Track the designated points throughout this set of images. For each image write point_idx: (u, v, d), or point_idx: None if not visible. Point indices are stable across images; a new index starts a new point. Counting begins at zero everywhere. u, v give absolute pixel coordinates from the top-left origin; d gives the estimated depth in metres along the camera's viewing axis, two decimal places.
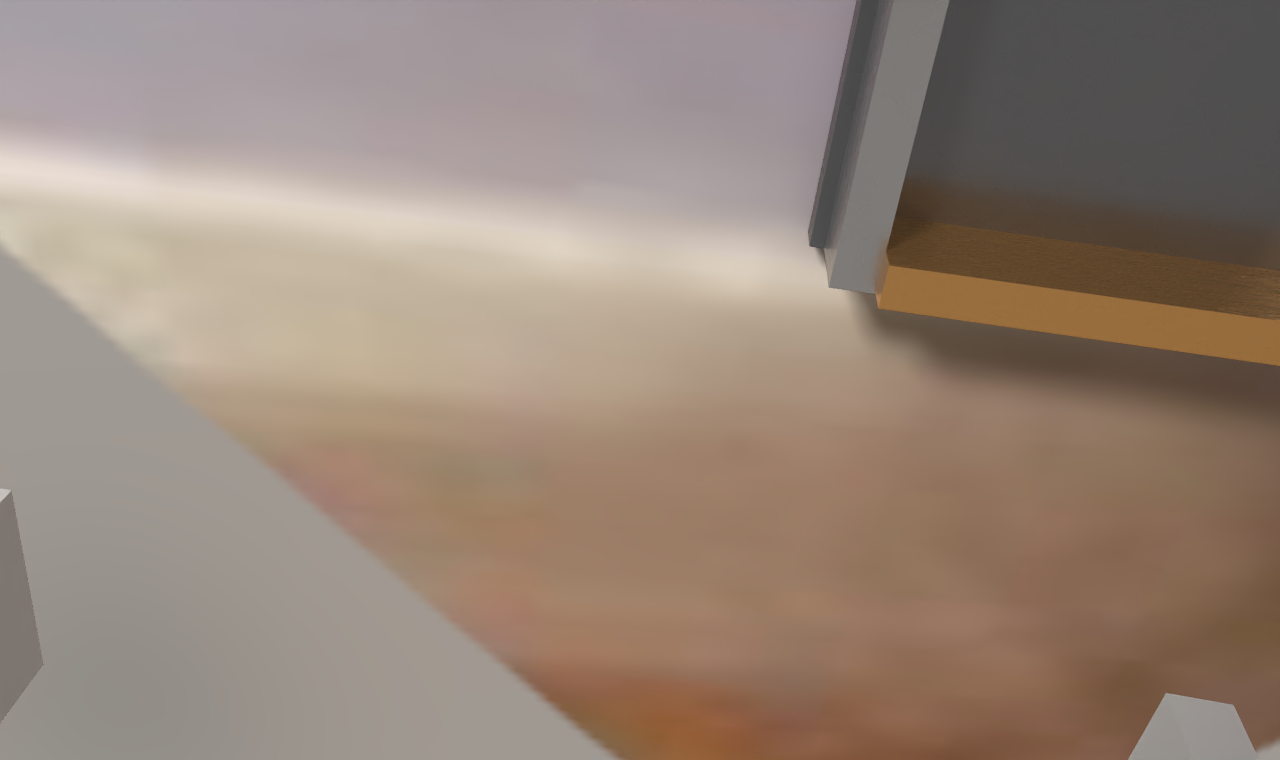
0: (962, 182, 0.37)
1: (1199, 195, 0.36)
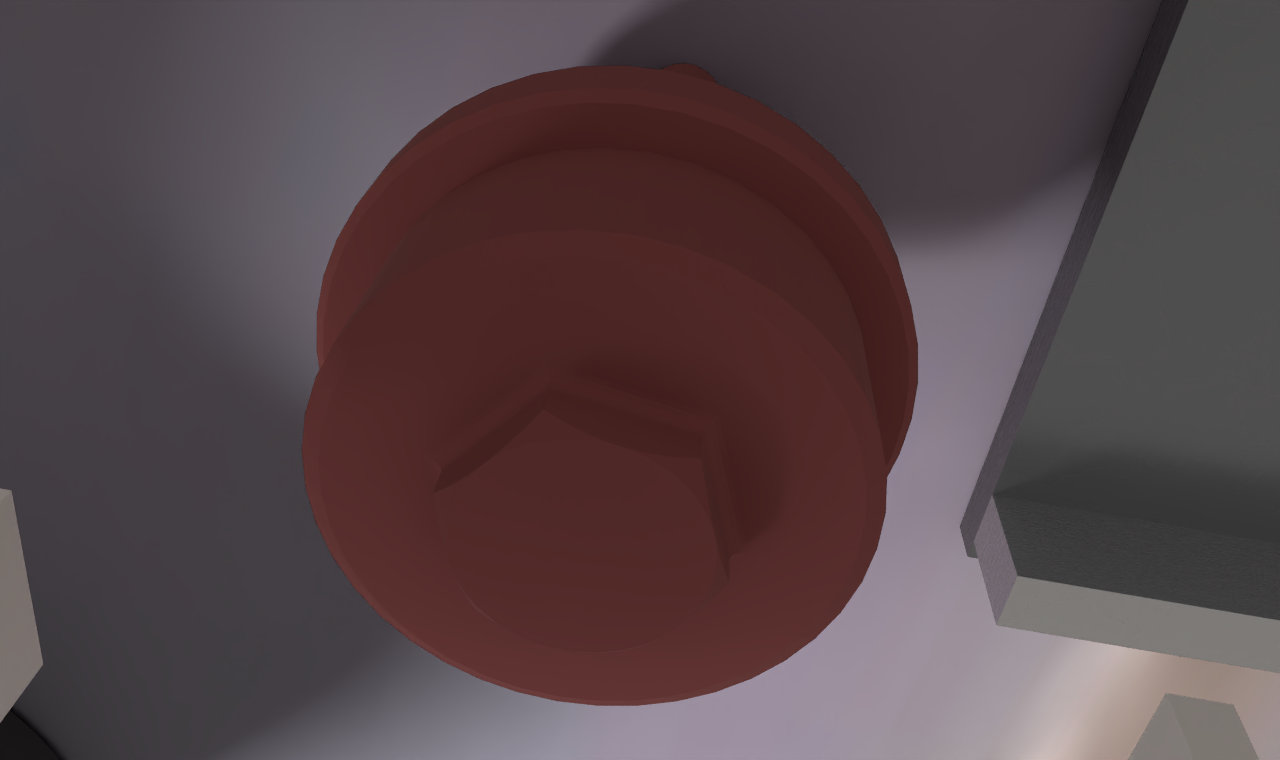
0: None
1: None
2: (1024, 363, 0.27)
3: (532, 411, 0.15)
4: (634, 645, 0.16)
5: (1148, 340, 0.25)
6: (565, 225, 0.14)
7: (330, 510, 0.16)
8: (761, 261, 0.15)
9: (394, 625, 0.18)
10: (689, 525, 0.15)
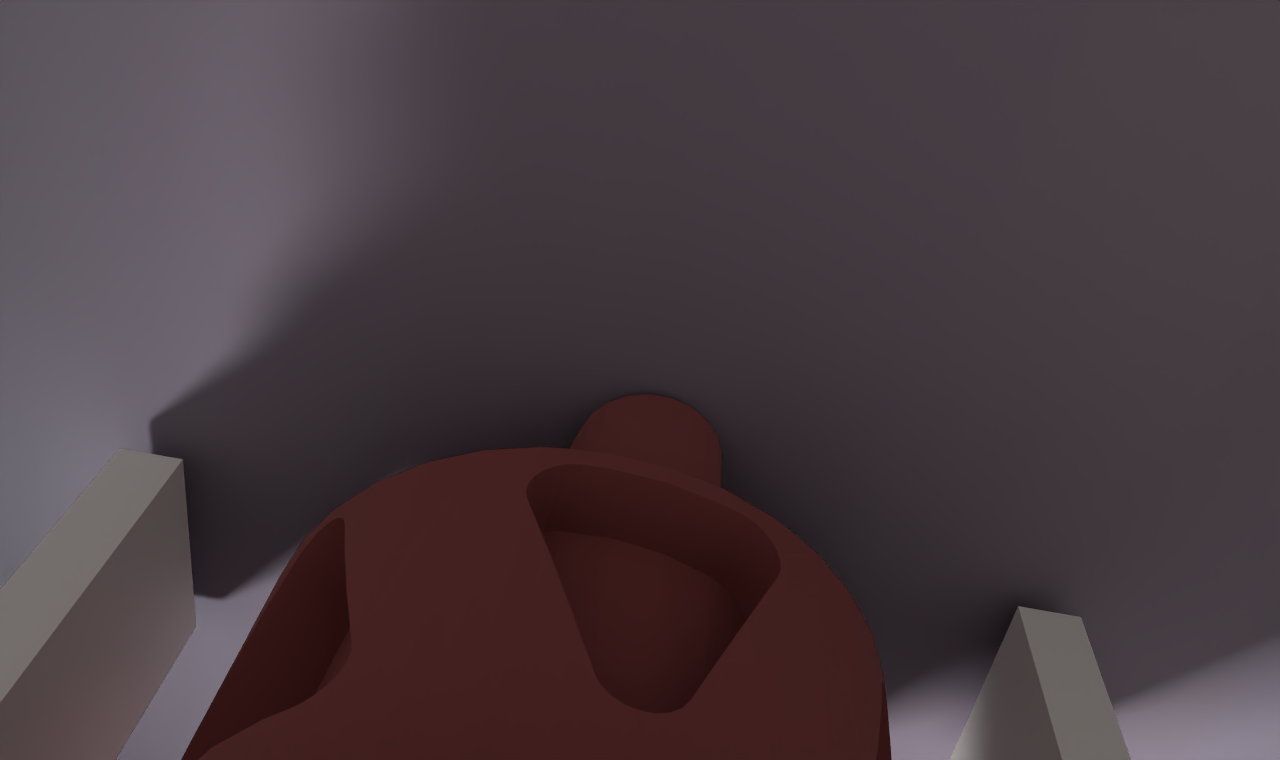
0: None
1: None
2: None
3: None
4: None
5: None
6: None
7: None
8: None
9: None
10: None
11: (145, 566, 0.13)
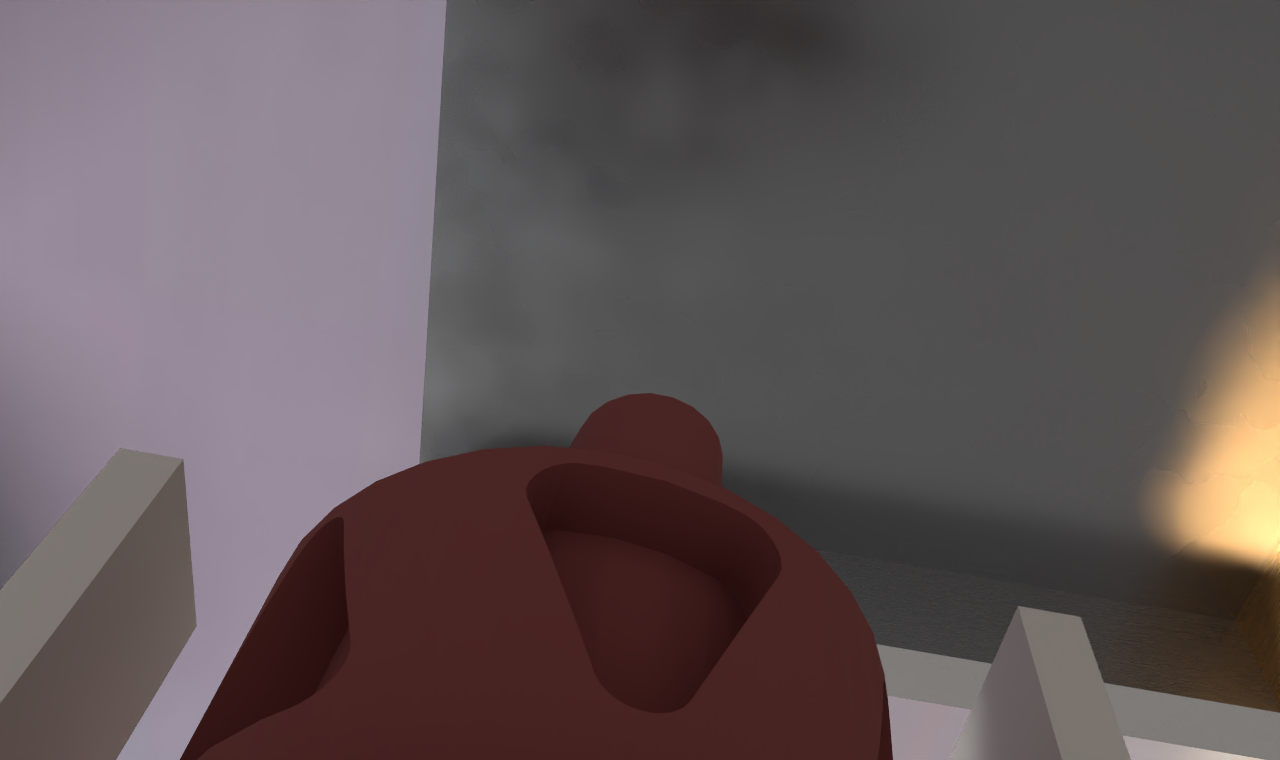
0: (1216, 533, 0.27)
1: None
2: None
3: None
4: None
5: (517, 327, 0.25)
6: None
7: None
8: None
9: None
10: None
11: (145, 566, 0.13)
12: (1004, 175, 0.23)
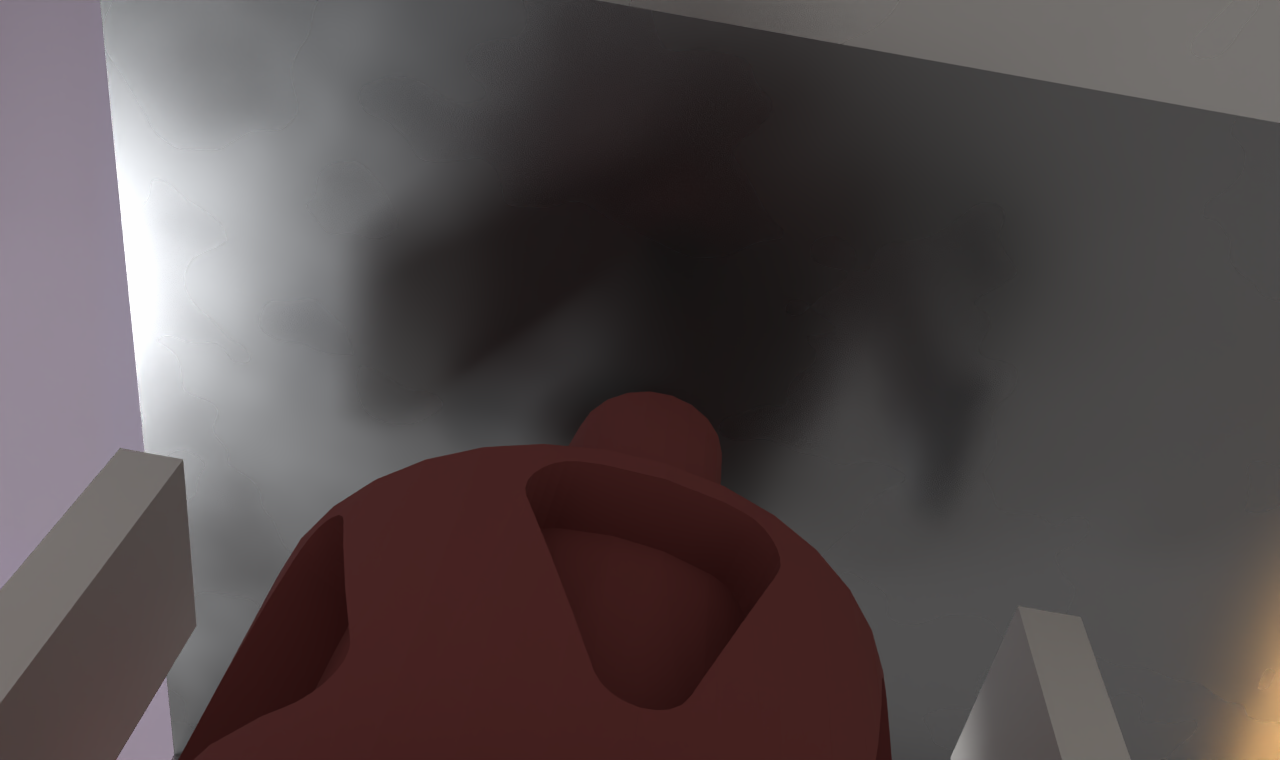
0: None
1: None
2: None
3: None
4: None
5: None
6: None
7: None
8: None
9: None
10: None
11: (146, 566, 0.13)
12: (977, 393, 0.15)
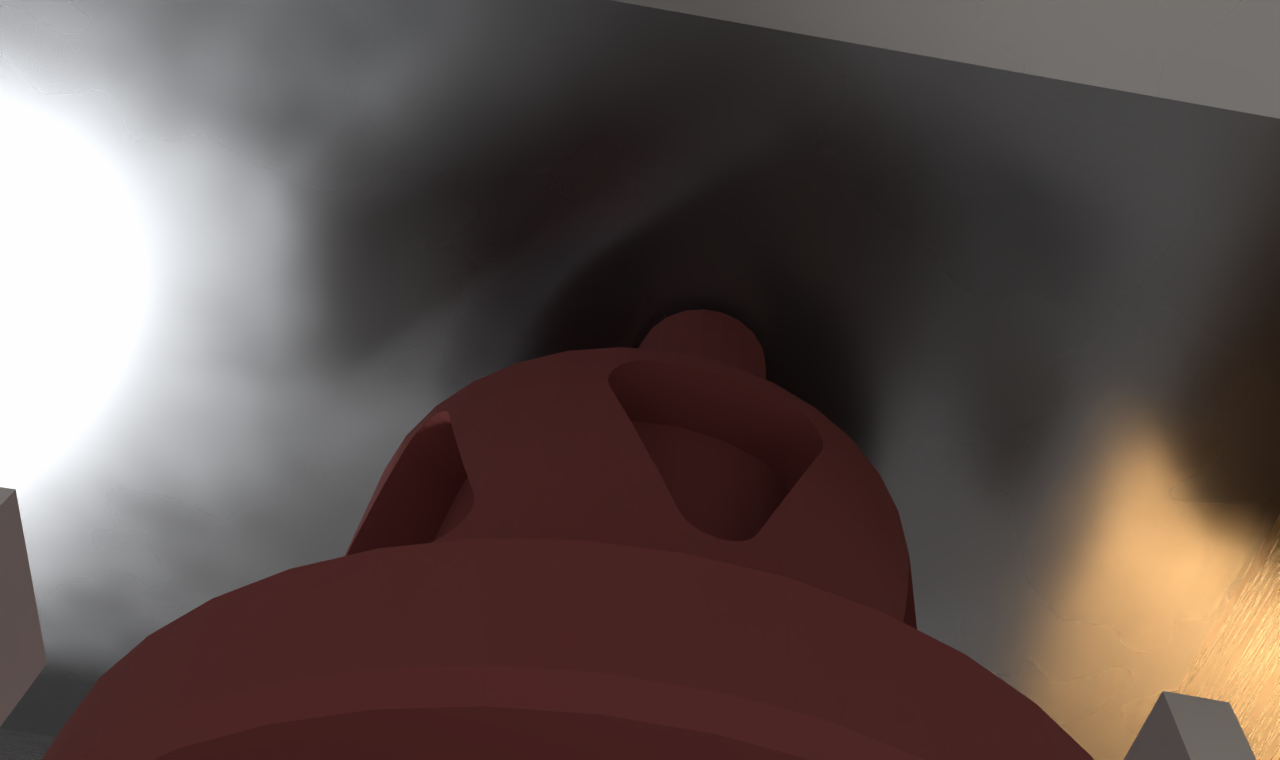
0: None
1: (1147, 432, 0.15)
2: None
3: None
4: None
5: None
6: None
7: None
8: None
9: None
10: None
11: None
12: (629, 332, 0.15)
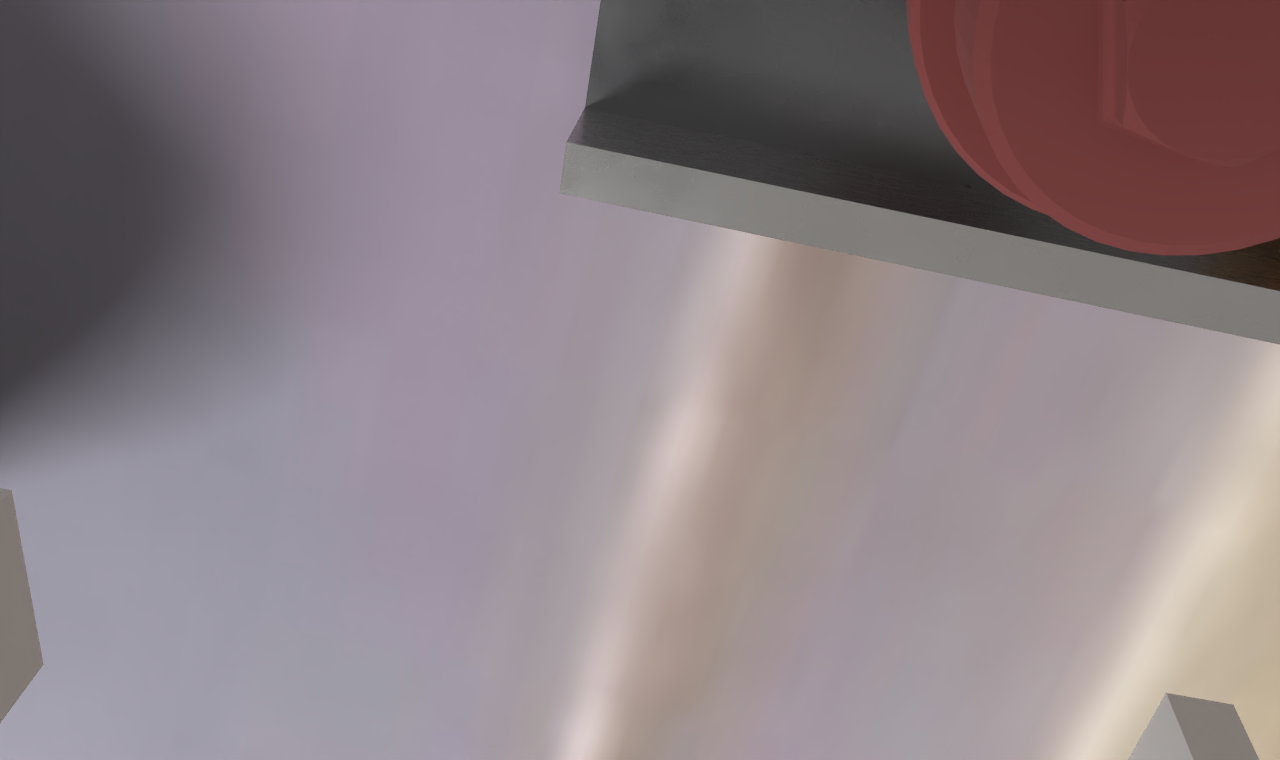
0: None
1: None
2: None
3: None
4: (1263, 151, 0.19)
5: None
6: None
7: (995, 44, 0.20)
8: None
9: (1009, 169, 0.21)
10: None
11: None
12: None
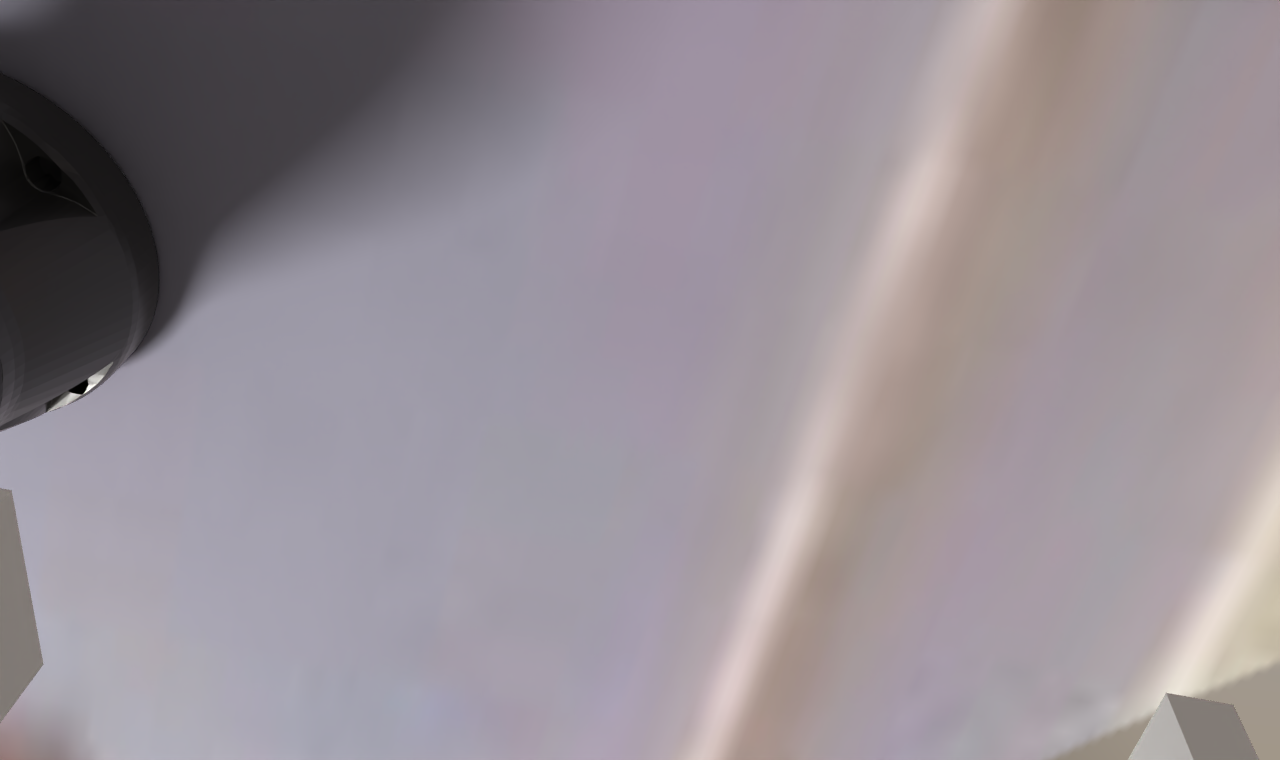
0: None
1: None
2: None
3: None
4: None
5: None
6: None
7: None
8: None
9: None
10: None
11: None
12: None
